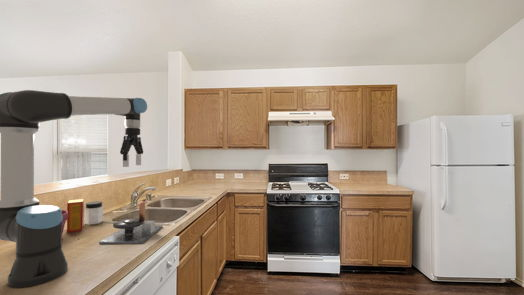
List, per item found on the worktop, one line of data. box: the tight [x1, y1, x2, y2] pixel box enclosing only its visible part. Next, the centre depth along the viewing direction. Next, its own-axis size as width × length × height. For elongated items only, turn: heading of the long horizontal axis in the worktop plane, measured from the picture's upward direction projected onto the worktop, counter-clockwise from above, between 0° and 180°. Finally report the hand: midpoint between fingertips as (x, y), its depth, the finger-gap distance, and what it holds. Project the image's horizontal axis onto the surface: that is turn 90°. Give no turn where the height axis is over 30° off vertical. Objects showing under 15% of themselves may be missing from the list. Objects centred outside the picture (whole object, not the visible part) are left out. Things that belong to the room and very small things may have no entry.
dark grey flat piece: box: [98, 220, 163, 245], centre depth 123 cm, size 24×20×6 cm
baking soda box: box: [66, 198, 85, 233], centre depth 132 cm, size 10×6×16 cm
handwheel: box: [112, 200, 146, 233], centre depth 125 cm, size 14×17×15 cm
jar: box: [84, 200, 104, 226], centre depth 144 cm, size 9×8×12 cm
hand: (132, 166), depth 133 cm, fingers open, 13 cm apart
